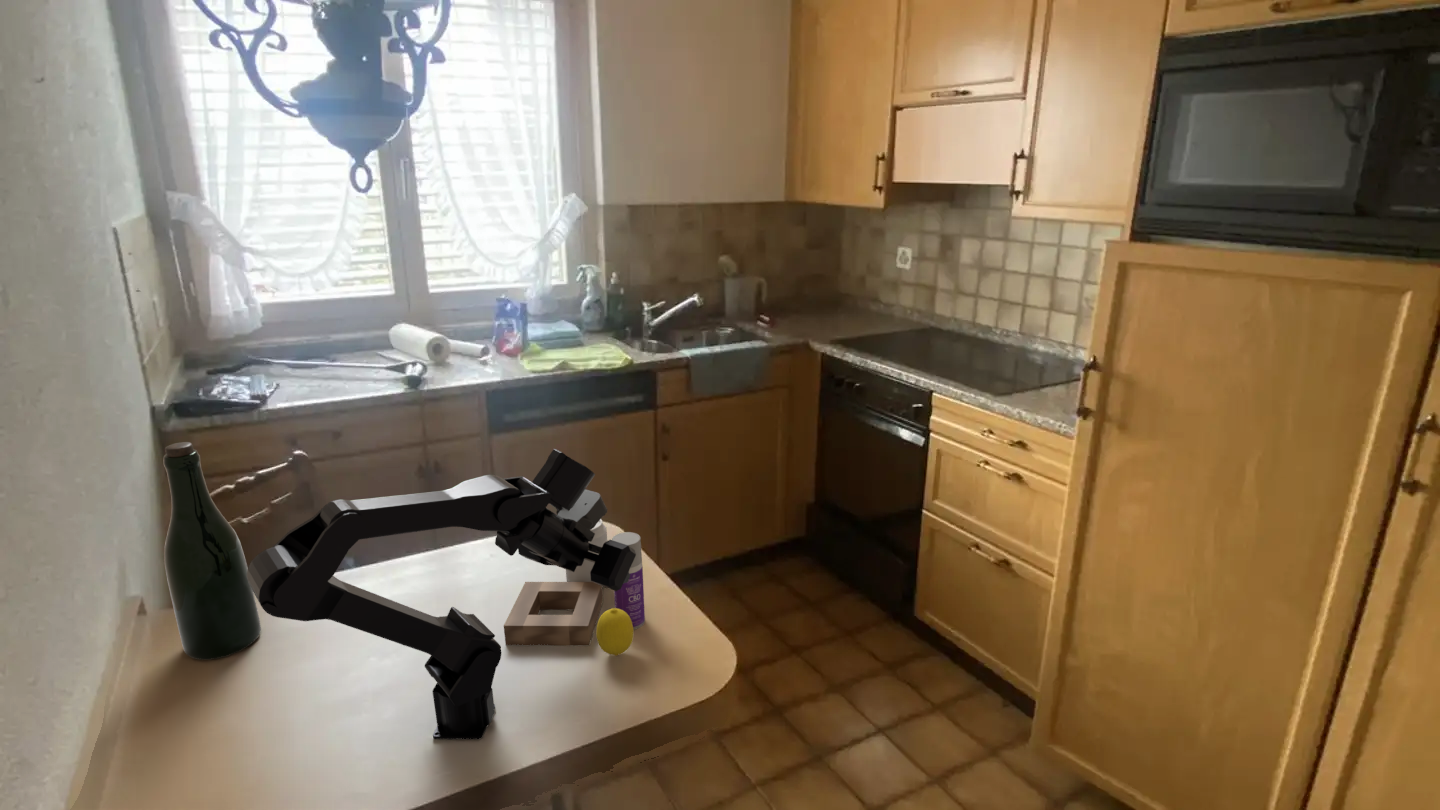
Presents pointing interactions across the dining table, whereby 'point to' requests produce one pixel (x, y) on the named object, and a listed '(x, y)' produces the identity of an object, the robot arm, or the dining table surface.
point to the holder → (554, 628)
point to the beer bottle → (205, 565)
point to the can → (584, 571)
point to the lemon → (614, 631)
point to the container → (632, 583)
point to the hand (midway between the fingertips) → (604, 570)
